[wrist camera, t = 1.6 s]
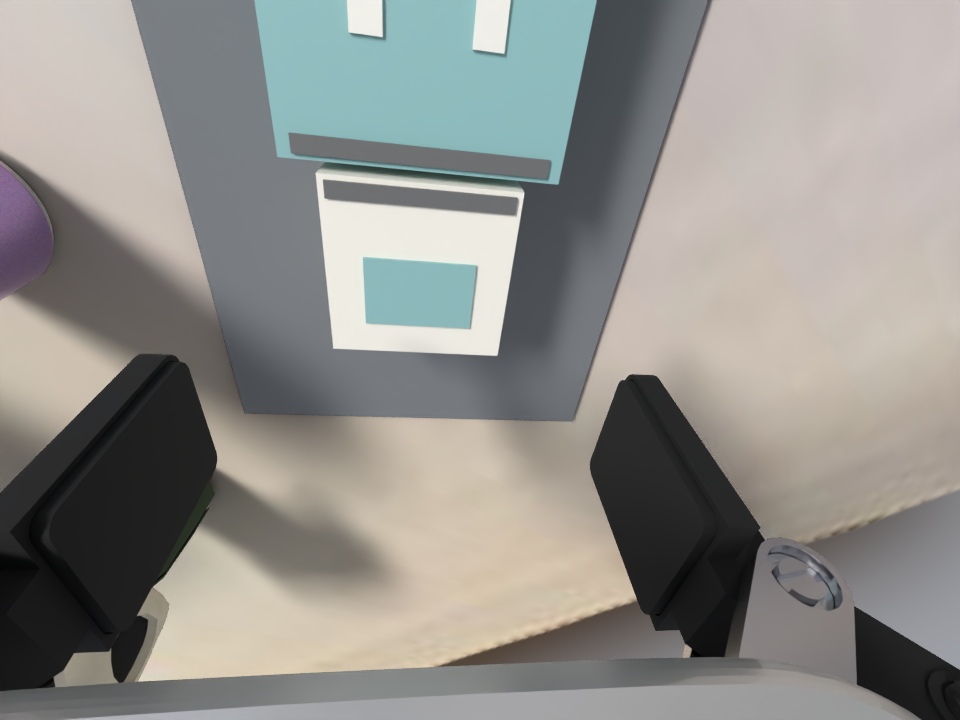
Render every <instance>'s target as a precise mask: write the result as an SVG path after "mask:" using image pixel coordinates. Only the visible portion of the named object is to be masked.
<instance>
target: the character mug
mask: <svg viewBox="0 0 960 720" xmlns="http://www.w3.org/2000/svg"><path fill="white" fill-rule="evenodd" d="M214 494H215V493H214V491H213V489H212V487H211V485H210V483H209V482H208V484H207V486H206V487H205V489H204V491H203V493H202V495H201V497H200V499H199V501H198V502H197V504H196V506H195V508H194V510H193V512H192V514H191V516H190V517H189V519H188V521H187V523H186V525H185V527H184V529H183V531H182V532H181V534H180V536H179V538H178V540H177V542H176V544H175V546H174V547H173V549H172V551H171V553H170V555H169V557H168V559H167V561H166V562H165V564H164V566H163V568H162V570H161V572H160V574H159V576H158V577H157V579H156V581H155V583H154V585H156V584H157V583H158V582H159V581H160V580H161V579H163V578H164V577H165V575H166V574H167V572H168V571H169V569H170V568H171V566H172V565H173V563H174V562H175V561H176V559H177V558H178V556H179V555H180V553H181V552H182V550H183V549H184V547H185V546H186V544H187V543H188V542H189V540H190V539H191V537H192V536H193V534H194V532H195V531H196V529H197V527H198V526H199V524H200V523H201V521H202V519H203V518H204V516H205V514H206V513H207V511H208V509H209V508H208V509H206V508H207V507H208V505H209V503H210V502H211V500H212V498H213V496H214ZM209 507H210V506H209ZM154 585H153V586H154ZM168 610H169V603H168V602H167V600H166V599H165V597H164V596H163V595H162V594H161V593H160V592H158V591H157V590H156V589H154V588H153V587H152V589H151V591H150V592H149V594H148V596H147V598H146V600H145V602H144V604H143V606H142V607H141V609H140V611H139V613H138V615H137V617H136V619H135V620H134V622H133V624H132V625H131V626H130V627H129V628H128V629H127V630H126V631H124V632H120V633H119V635H118V636H117V638H116V640H115V642H114V644H113V646H112V647H111V649H110V651H109V652H89V653H74V654H73V656H72V658H71V659H70V661H69V662H68V664H67V666H66V667H65V669H64V672H65V677H66V681H67V686H82V685H97V684H111V683H126V682H138V680H139V678H140V676H141V674H142V672H143V670H144V668H145V666H146V664H147V661H148V659H149V657H150V655H151V653H152V649H153V647H154V645H155V643H156V640H157V638H158V636H159V634H160V632H161V630H162V628H163V625H164V623H165V621H166V617H167V613H168Z"/></svg>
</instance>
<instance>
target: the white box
mask: <svg viewBox="0 0 960 720" xmlns="http://www.w3.org/2000/svg"><path fill="white" fill-rule="evenodd" d="M316 182H317V192H318V202H319V212H320V222H321V232H322V241H323V251H324V261H325V271H326V281H327V291H328V301H329V310H330V320H331V330H332V340H333V349H353V350H375V351H398V352H421V353H443V354H466V355H489V356H497V355H498V349H499V343H500V337H501V331H502V325H503V319H504V313H505V307H506V301H507V295H508V289H509V283H510V277H511V271H512V265H513V259H514V253H515V247H516V241H517V235H518V229H519V223H520V217H521V211H522V205H523V199H524V191H523V189H522V188H521V186H520V184H519V182H518V181H516V180H506V179H495V178H485V177H475V176H465V175H455V174H445V173H435V172H424V171H414V170H404V169H394V168H384V167H374V166H364V165H353V164H343V163H333V162H325V163H324V164H323V165H322V166H321V167H320V169H319V170H318V171H317V172H316Z"/></svg>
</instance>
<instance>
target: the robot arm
mask: <svg viewBox="0 0 960 720" xmlns="http://www.w3.org/2000/svg"><path fill="white" fill-rule="evenodd" d="M216 464H217V453H216V450H215V447H214V444H213V441H212V438H211V435H210V432H209V429H208V426H207V423H206V419H205V416H204V413H203V410H202V407H201V404H200V401H199V398H198V395H197V392H196V389H195V386H194V383H193V380H192V377H191V374H190V371H189V368H188V366H187V365H186V364H185V363H183V362H180V361H179V359H178V358H177V357H176V356H173V355H161V354H139V355H138V356H136V357H135V358H134V359H133V360H132V361H131V362H130V363H129V364H128V365H127V366H126V367H125V368H124V369H123V370H122V371H121V372H120V373H119V374H118V375H117V376H116V377H115V378H114V379H113V380H112V381H111V382H110V383H109V384H108V385H107V386H106V387H105V388H104V389H103V390H102V391H101V392H100V393H99V394H98V395H97V396H96V397H95V398H94V399H93V400H92V401H91V402H90V403H89V404H88V405H87V406H86V407H85V408H84V409H83V410H82V411H81V412H80V413H79V414H78V415H77V416H76V417H75V418H74V419H73V420H72V421H71V422H70V423H69V424H68V425H67V426H66V427H65V428H64V429H63V430H62V431H61V432H60V433H59V434H58V435H57V436H56V437H55V438H54V439H53V440H52V441H51V442H50V443H49V444H48V445H47V446H46V447H45V448H44V449H43V450H42V451H41V452H40V453H39V454H38V455H37V456H36V457H35V458H34V459H33V461H32V462H31V463H30V464H29V465H28V466H27V467H26V468H25V469H24V470H23V471H22V472H21V473H20V474H19V475H18V476H17V477H16V478H15V479H14V480H13V481H12V482H11V483H10V484H9V485H8V486H7V487H6V488H5V489H4V490H3V491H2V492H1V493H0V720H960V670H959V669H957V668H956V667H954V666H952V665H951V664H949V663H947V662H945V661H944V660H942V659H941V658H939V657H937V656H936V655H934V654H932V653H931V652H929V651H928V650H926V649H924V648H922V647H921V646H919V645H918V644H916V643H914V642H913V641H911V640H909V639H908V638H906V637H904V636H903V635H901V634H899V633H898V632H896V631H894V630H893V629H891V628H889V627H888V626H886V625H884V624H883V623H881V622H879V621H878V620H876V619H875V618H873V617H871V616H870V615H868V614H866V613H864V612H863V611H861V610H859V609H858V608H856V607H855V606H854V601H853V597H852V593H851V590H850V588H849V587H848V585H847V583H846V581H845V579H844V578H843V577H842V576H841V574H840V573H839V572H838V571H837V570H836V568H835V567H834V566H833V565H832V564H831V563H830V562H828V561H827V560H826V559H825V558H824V557H822V556H821V555H820V554H819V553H817V552H815V551H814V550H812V549H810V548H809V547H807V546H806V545H803V544H801V543H798V542H796V541H794V540H790V539H785V538H780V537H779V538H769V539H767V540H765V539H764V538H763V537H762V535H761V534H760V532H759V531H758V530H759V529H760V526H759V525H758V523H757V522H756V520H755V519H754V517H753V516H752V514H751V513H750V511H749V510H748V508H747V507H746V506H745V504H744V503H743V501H742V500H741V498H740V497H739V495H738V494H737V492H736V491H735V489H734V488H733V487H732V485H731V484H730V482H729V481H728V479H727V478H726V476H725V475H724V473H723V472H722V470H721V469H720V468H719V466H718V465H717V463H716V462H715V460H714V459H713V457H712V456H711V454H710V453H709V451H708V450H707V449H706V447H705V446H704V444H703V443H702V441H701V440H700V438H699V437H698V435H697V434H696V432H695V431H694V430H693V428H692V427H691V425H690V424H689V422H688V421H687V419H686V418H685V416H684V415H683V413H682V412H681V411H680V409H679V408H678V406H677V405H676V403H675V402H674V400H673V399H672V397H671V396H670V394H669V393H668V392H667V390H666V389H665V387H664V386H663V384H662V383H661V381H660V380H659V379H658V378H657V376H654V375H634V374H632V375H629V376H628V377H627V378H626V380H622V381H620V382H619V384H618V387H617V389H616V392H615V395H614V398H613V400H612V403H611V406H610V409H609V411H608V414H607V417H606V419H605V422H604V425H603V428H602V430H601V433H600V436H599V439H598V441H597V444H596V447H595V450H594V452H593V455H592V458H591V461H590V470H591V475H592V478H593V481H594V483H595V486H596V489H597V491H598V494H599V497H600V500H601V502H602V505H603V508H604V510H605V513H606V516H607V519H608V521H609V524H610V527H611V530H612V532H613V535H614V538H615V540H616V543H617V546H618V549H619V551H620V554H621V557H622V559H623V562H624V565H625V568H626V570H627V573H628V576H629V579H630V581H631V584H632V587H633V589H634V592H635V595H636V598H637V600H638V603H639V605H640V608H641V610H642V611H643V612H644V613H645V614H648V615H650V617H651V620H652V623H653V625H654V628H655V630H656V631H660V630H661V631H663V630H680V632H681V635H682V637H683V640H684V642H685V644H686V645H685V648H684V652H683V656H682V658H650V659H616V660H591V661H566V662H544V663H519V664H494V665H473V666H450V667H428V668H406V669H385V670H364V671H343V672H321V673H300V674H281V675H261V676H242V677H222V678H203V679H184V680H164V681H145V682H126V683H111V684H97V685H82V686H67V681H66V677H65V672H64V669H65V667H66V666H67V664H68V662H69V661H70V659H71V658H72V656H73V654H74V653H89V652H109V651H110V649H111V647H112V646H113V644H114V642H115V640H116V638H117V636H118V635H119V633H120V632H124V631H126V630H127V629H128V628H129V627H130V626H131V625H132V624H133V622H134V620H135V619H136V617H137V615H138V613H139V611H140V609H141V607H142V606H143V604H144V602H145V600H146V598H147V596H148V594H149V592H150V591H151V589H152V587H153V585H154V583H155V581H156V579H157V577H158V576H159V574H160V572H161V570H162V568H163V566H164V564H165V562H166V561H167V559H168V557H169V555H170V553H171V551H172V549H173V547H174V546H175V544H176V542H177V540H178V538H179V536H180V534H181V532H182V531H183V529H184V527H185V525H186V523H187V521H188V519H189V517H190V516H191V514H192V512H193V510H194V508H195V506H196V504H197V502H198V501H199V499H200V497H201V495H202V493H203V491H204V489H205V487H206V486H207V484H208V482H209V480H210V478H211V476H212V474H213V472H214V470H215V468H216Z"/></svg>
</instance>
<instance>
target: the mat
mask: <svg viewBox="0 0 960 720" xmlns="http://www.w3.org/2000/svg"><path fill="white" fill-rule="evenodd" d="M131 2H132V5H133V9H134V13H135V16H136V20H137V24H138V27H139V31H140V35H141V38H142V42H143V45H144V49H145V53H146V56H147V60H148V64H149V67H150V71H151V75H152V78H153V82H154V86H155V89H156V93H157V96H158V100H159V104H160V107H161V111H162V115H163V118H164V122H165V126H166V129H167V133H168V137H169V140H170V144H171V147H172V151H173V155H174V158H175V162H176V166H177V169H178V173H179V177H180V180H181V184H182V188H183V191H184V195H185V198H186V202H187V206H188V209H189V213H190V217H191V220H192V224H193V228H194V231H195V235H196V239H197V242H198V246H199V249H200V253H201V257H202V260H203V264H204V268H205V271H206V275H207V279H208V282H209V286H210V290H211V293H212V297H213V300H214V304H215V308H216V311H217V315H218V319H219V322H220V326H221V330H222V333H223V337H224V341H225V344H226V348H227V351H228V355H229V359H230V362H231V366H232V370H233V373H234V377H235V381H236V384H237V388H238V392H239V395H240V399H241V402H242V406H243V410H244V413H250V414H291V415H332V416H372V417H413V418H454V419H495V420H535V421H572V419H573V416H574V413H575V410H576V407H577V404H578V401H579V398H580V395H581V392H582V388H583V385H584V382H585V379H586V376H587V373H588V370H589V367H590V364H591V361H592V358H593V354H594V351H595V348H596V345H597V342H598V339H599V336H600V333H601V330H602V327H603V324H604V320H605V317H606V314H607V311H608V308H609V305H610V302H611V299H612V296H613V293H614V290H615V287H616V283H617V280H618V277H619V274H620V271H621V268H622V265H623V262H624V259H625V256H626V253H627V249H628V246H629V243H630V240H631V237H632V234H633V231H634V228H635V225H636V222H637V219H638V215H639V212H640V209H641V206H642V203H643V200H644V197H645V194H646V191H647V188H648V185H649V181H650V178H651V175H652V172H653V169H654V166H655V163H656V160H657V157H658V154H659V151H660V147H661V144H662V141H663V138H664V135H665V132H666V129H667V126H668V123H669V120H670V117H671V113H672V110H673V107H674V104H675V101H676V98H677V95H678V92H679V89H680V86H681V83H682V80H683V76H684V73H685V70H686V67H687V64H688V61H689V58H690V55H691V52H692V49H693V46H694V42H695V39H696V36H697V33H698V30H699V27H700V24H701V21H702V18H703V15H704V12H705V8H706V5H707V2H708V0H597V2H596V6H595V11H594V16H593V21H592V26H591V30H590V35H589V40H588V45H587V50H586V54H585V59H584V64H583V69H582V74H581V78H580V83H579V88H578V93H577V98H576V102H575V107H574V112H573V117H572V122H571V126H570V131H569V136H568V141H567V146H566V150H565V155H564V160H563V165H562V170H561V174H560V179H559V184H558V185H556V184H546V183H536V182H526V181H518V182H519V184H520V186H521V188H522V189H523V191H524V199H523V205H522V211H521V217H520V223H519V229H518V235H517V241H516V247H515V253H514V259H513V265H512V271H511V277H510V283H509V289H508V295H507V301H506V307H505V313H504V319H503V325H502V331H501V337H500V343H499V349H498V355H497V356H489V355H466V354H443V353H421V352H398V351H375V350H353V349H333V340H332V330H331V320H330V310H329V301H328V291H327V281H326V271H325V261H324V251H323V241H322V232H321V222H320V212H319V202H318V192H317V182H316V172H317V171H318V170H319V169H320V167H321V166H322V165H323V164H324V163H325V162H323V161H313V160H303V159H293V158H282V157H277V151H276V144H275V137H274V130H273V124H272V117H271V110H270V103H269V96H268V90H267V83H266V76H265V69H264V62H263V55H262V49H261V42H260V35H259V28H258V21H257V15H256V8H255V1H254V0H131Z"/></svg>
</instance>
